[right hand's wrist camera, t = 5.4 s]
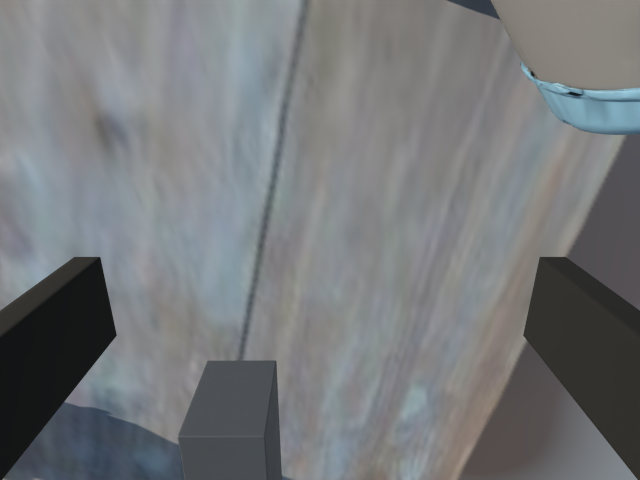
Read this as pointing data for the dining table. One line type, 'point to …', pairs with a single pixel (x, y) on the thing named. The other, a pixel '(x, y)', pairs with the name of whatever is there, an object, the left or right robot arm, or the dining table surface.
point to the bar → (233, 424)
